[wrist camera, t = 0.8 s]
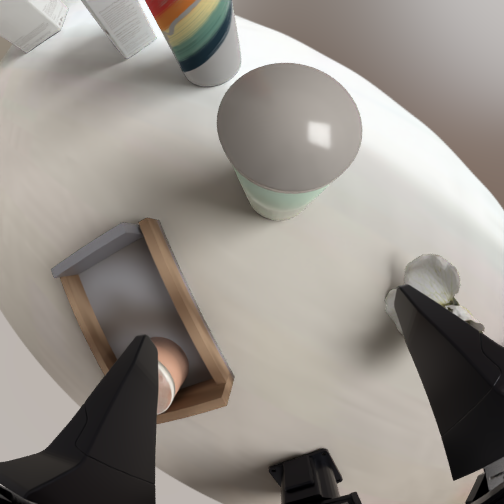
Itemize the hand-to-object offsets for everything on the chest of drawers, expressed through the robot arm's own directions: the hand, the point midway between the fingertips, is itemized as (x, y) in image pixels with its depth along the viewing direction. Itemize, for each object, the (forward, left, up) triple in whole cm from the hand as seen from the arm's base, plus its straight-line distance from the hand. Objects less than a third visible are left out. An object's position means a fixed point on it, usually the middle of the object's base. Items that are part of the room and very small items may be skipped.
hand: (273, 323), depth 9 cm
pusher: (+8, +12, -13) cm, 19 cm away
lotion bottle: (+20, -4, -14) cm, 25 cm away
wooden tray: (+1, +12, -14) cm, 18 cm away
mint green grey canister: (+6, -4, -14) cm, 15 cm away
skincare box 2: (+30, +2, -14) cm, 33 cm away
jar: (-3, +12, -13) cm, 18 cm away
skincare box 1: (+48, +15, -14) cm, 52 cm away
